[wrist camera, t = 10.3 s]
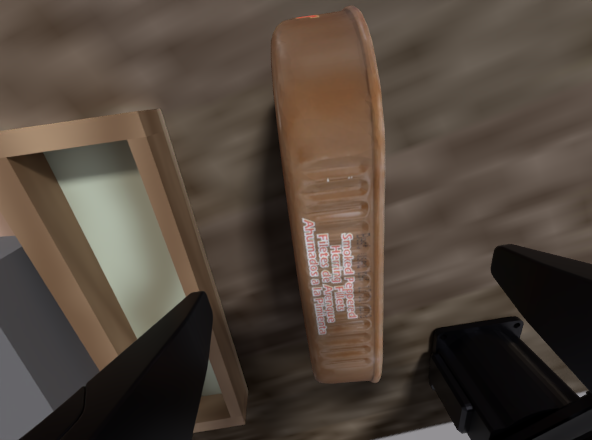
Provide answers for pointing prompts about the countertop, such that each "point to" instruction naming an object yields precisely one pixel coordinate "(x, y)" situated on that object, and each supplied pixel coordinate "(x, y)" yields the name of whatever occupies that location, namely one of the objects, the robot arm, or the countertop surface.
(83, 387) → the robot arm
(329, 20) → the tin
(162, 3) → the countertop surface
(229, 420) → the divided wooden tray
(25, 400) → the bar
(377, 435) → the countertop surface
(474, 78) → the countertop surface
